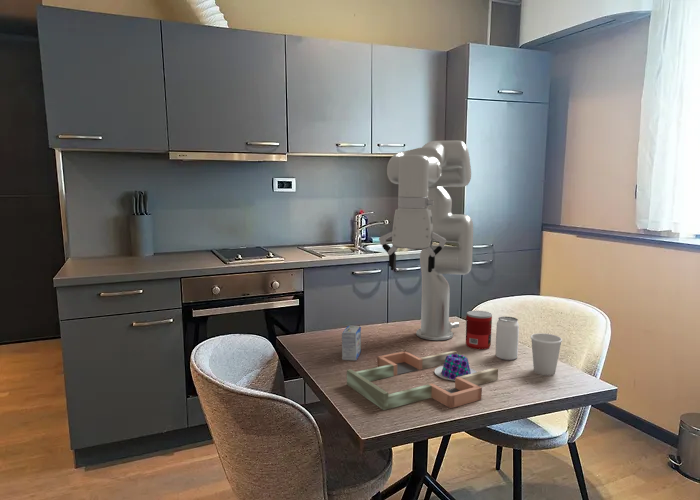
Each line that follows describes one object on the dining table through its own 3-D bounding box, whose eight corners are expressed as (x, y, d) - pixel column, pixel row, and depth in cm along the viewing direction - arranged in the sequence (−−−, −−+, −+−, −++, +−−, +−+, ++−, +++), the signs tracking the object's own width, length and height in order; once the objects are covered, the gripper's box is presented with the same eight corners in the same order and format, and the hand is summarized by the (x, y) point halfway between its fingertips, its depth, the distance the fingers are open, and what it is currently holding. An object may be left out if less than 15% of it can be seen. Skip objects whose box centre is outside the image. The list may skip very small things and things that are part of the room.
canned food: (494, 349, 161) (495, 316, 159) (469, 350, 160) (470, 316, 159) (486, 342, 168) (487, 310, 167) (462, 342, 168) (463, 310, 166)
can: (490, 354, 156) (492, 317, 154) (507, 352, 158) (509, 315, 156) (504, 361, 150) (506, 322, 148) (521, 359, 152) (523, 320, 150)
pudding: (487, 377, 138) (488, 359, 137) (456, 387, 131) (456, 367, 131) (456, 364, 148) (456, 347, 147) (425, 372, 141) (425, 354, 141)
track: (454, 360, 151) (454, 347, 150) (497, 379, 136) (498, 365, 135) (346, 384, 132) (346, 370, 132) (383, 410, 117) (384, 393, 117)
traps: (405, 360, 150) (405, 350, 150) (481, 399, 123) (481, 387, 123) (377, 366, 145) (377, 356, 145) (450, 408, 118) (450, 396, 118)
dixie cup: (522, 368, 144) (524, 334, 143) (545, 364, 147) (547, 331, 146) (542, 378, 136) (544, 343, 135) (567, 375, 139) (569, 340, 138)
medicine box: (356, 361, 150) (356, 333, 148) (341, 360, 150) (341, 332, 149) (361, 352, 157) (361, 325, 156) (347, 351, 158) (347, 325, 157)
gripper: (448, 204, 129) (446, 269, 131) (383, 203, 134) (382, 266, 136) (445, 205, 122) (443, 274, 124) (376, 204, 127) (375, 271, 129)
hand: (411, 270), depth 130 cm, fingers open, 9 cm apart
